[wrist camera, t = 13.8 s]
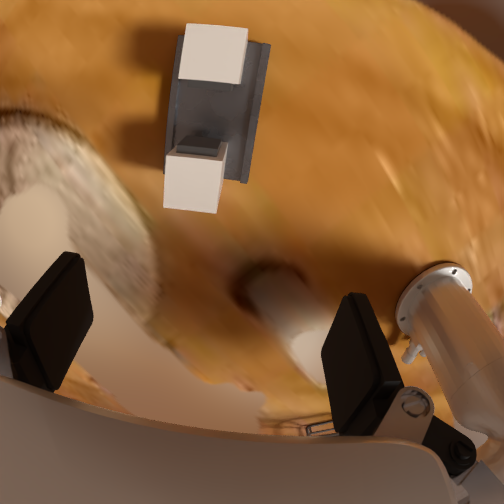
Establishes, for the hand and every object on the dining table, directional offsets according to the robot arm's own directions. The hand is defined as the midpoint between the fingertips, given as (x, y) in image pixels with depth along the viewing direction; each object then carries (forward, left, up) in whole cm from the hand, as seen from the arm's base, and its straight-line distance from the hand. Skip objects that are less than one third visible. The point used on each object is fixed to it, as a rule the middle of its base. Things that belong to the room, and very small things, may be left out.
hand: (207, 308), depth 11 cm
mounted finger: (+9, +2, -20) cm, 22 cm away
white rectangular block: (0, +3, -20) cm, 20 cm away
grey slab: (+5, +2, -21) cm, 22 cm away
